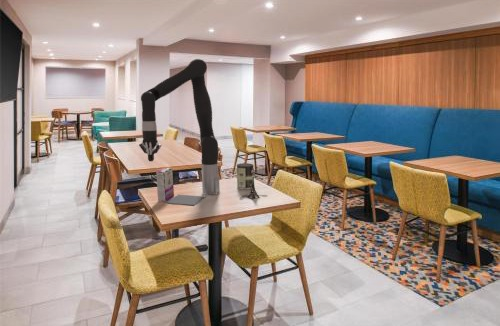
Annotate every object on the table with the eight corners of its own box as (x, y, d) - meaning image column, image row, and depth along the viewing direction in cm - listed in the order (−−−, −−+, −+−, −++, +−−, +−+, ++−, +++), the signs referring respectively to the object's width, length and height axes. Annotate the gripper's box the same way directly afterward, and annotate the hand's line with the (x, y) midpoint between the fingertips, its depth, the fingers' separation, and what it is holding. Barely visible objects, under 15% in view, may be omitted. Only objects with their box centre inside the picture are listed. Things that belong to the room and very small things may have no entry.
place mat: (206, 197, 207) (206, 196, 207) (194, 205, 192) (194, 204, 192) (178, 195, 212) (178, 194, 212) (164, 203, 197) (164, 202, 197)
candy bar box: (166, 195, 211) (164, 167, 208) (174, 196, 210) (172, 167, 207) (157, 201, 200) (155, 171, 197) (166, 201, 199) (164, 171, 196)
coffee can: (253, 185, 234) (253, 163, 231) (253, 189, 224) (253, 166, 221) (237, 185, 234) (236, 163, 231) (236, 189, 224) (236, 166, 221)
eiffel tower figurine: (267, 196, 211) (267, 173, 208) (266, 201, 201) (266, 177, 198) (241, 195, 212) (241, 172, 210) (239, 200, 202) (238, 176, 200)
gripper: (163, 129, 202) (165, 160, 205) (142, 128, 206) (144, 159, 209) (156, 130, 195) (158, 163, 198) (134, 129, 199) (136, 161, 202)
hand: (151, 161), depth 204 cm, fingers closed
